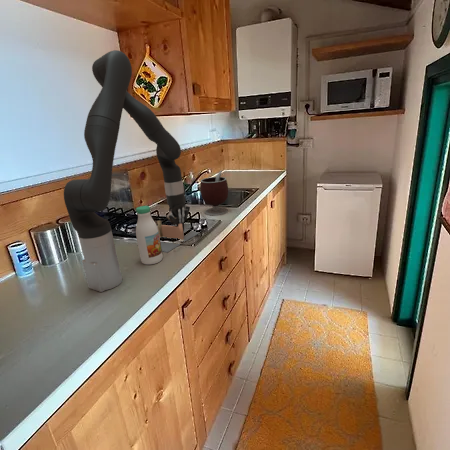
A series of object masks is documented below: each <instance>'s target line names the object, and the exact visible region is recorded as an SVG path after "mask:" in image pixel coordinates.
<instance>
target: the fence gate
mask: <svg viewBox="0 0 450 450" xmlns="http://www.w3.org/2000/svg"><path fill="white" fill-rule="evenodd" d="M161 228H162V234H163V237H169V238H178V239H184V234H183V227H182V223H180V224H178V226H177V225H176V226H175V225H170V224H169V225H168V224H167V225H166V224H162V225H161Z"/></svg>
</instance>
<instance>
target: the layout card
mask: <svg viewBox="0 0 450 450" xmlns="http://www.w3.org/2000/svg"><path fill="white" fill-rule="evenodd" d="M188 230H190V229H189V228H188V229H187V228H184V231H183V234H184V233H185V232H186V231H188ZM192 230H193V229H192ZM196 231H197V230H195V231H194V230H193V231H190V232H189V233H188V234H187V235H185V236H184V239H181V240H180V241H182V242H183V241H184V243H186V242H188V241H189V240H191V239H192V238H194V237H196V236H198V235H199V234H201V233H202V231H201V230H200V232H201V233H200V232H196ZM167 238H169V237H167ZM185 241H186V242H185ZM160 243H161V249H162V253H165V254H166V253H167V254H168V253H169V252H171V251H172V250H174V249H176V248H178V247H179V246H181V245H180V244H173V243H164V242H160Z"/></svg>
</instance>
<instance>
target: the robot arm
mask: <svg viewBox="0 0 450 450" xmlns="http://www.w3.org/2000/svg"><path fill="white" fill-rule="evenodd" d="M91 70H92V74H93V77H94V79H95V80H96V82H97V83H98V84H99V85H100V86H101V89H100V92H99V93H98V95H97V96H96V98H95V100H94V102H93V104H92V105H91V107H90V109H89V111H88V114H87V117H86V120H85V121H86V122H85V127H84V132H83V137H84V142H85V145H86V147H87V149H88V151H89V153H90V156H91V158H92V166H91V167H92V168H91V175H90V177H89V178H85V179H84V178H83V179H82V178H81V179H79V178H78V179H71V180H70V181H68V182H67V183H66V184H65V186H64V188H63V200H64V205H65V207H66V211H67V214H68V217H69V220H70V223H71V225H72V228H73V229H74V230H75V231H76V233H77V236H78V240H79V244H80V248H81V251H82V255H83V259H82V260H81V264H82V267H83V271H84V274H85V279H86V282H87V286H88V288H89V289H90V290H94V291H97V292H99V293H103V292H104V291H107V290H111V289H114V288H116V287H118V286H119V285H120V284H121V283H122V282H123V276H122V271H121V267H120V261H119V258H118V255H117V249H116V245H115V241H114V236H113V232H112V227H111V223H110V221H109V220H108V219H107V218H104V217H102V216H100V215H98V214H97V212H98V213H100V212H102V211H105V209H107V207H108V206H109V202H110V199H111V193H112V179H113V178H112V177H113V168H114V167H113V166H114V161H115V160H114V159H115V152H116V147H117V142H118V137H119V132H120V125H121V119H122V114H123V109H124V111H126V113H127V114H128V115H129V116H130V117H131V118H132V120H134V122H135V123H136V124H137V125H138V127H139V129H140V130H141V131H142V132H143V134H144V135H145V136H146V137H147V139H148V140H149V141H150V142H152V143H153V142H154V143H155V144H156V149H155V151H156V152H155V153H156V157H157V160H158V163H159V166H160V168H161V171H162V177H163V181H164V191H165V196H166V202H167V203H166V204H167V205H168V206H169V208H168V211H169V212H168V214H166V215H165V219H167V220H168V221H169V222H170V223H171V224H172V225H176V226H178V224H180V223H182V227H183V231H184V229H185V225H184V224H185V221H187V219H188V216H189V214H190V213H189V212H190V210H191V207H190V206H187V205H186V200H187V199H186V194H185V193H186V192H185V186H184V182H183V176H182V171H181V168H180V166H179V165H178V164H177V163H176V160H177V159H179V158H180V156H181V154H182V150H181V146H180V144H179V142H178V141H177V140H176V138H175V137H174V136H173V135H172V134H171V133H170V132H169V131H168V130H167V129H166V128H165V127H164V126H163V124H162V122H161V121H160V119H158V117H157V115H156V114H155V113H154V112H153V111H152V110H151V109H150V107H148V106H147V105H145V104H144V103H142V102H141V101H139V100H138V99H136V98H135V97H134V96H133V95H132V94H130V93H129V92H128V90H129V86H130V82H131V79H132V76H133V75H132V74H133V70H132V64H131V61H130V59H129V57H128V55H126V53H124V52H123V51H121V50H115V49H114V50H111V51H108V52H106V53H105V54H103V55H102V56H101V57H99V58H97V59H96V60H95V61H93V63H92V66H91Z"/></svg>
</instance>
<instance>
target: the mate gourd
mask: <svg viewBox="0 0 450 450" xmlns="http://www.w3.org/2000/svg"><path fill="white" fill-rule="evenodd" d="M222 172H223V170H220V171H219V172H218V173H217V174H216V176H213V177H211V176H210V177H205V178H203V179H200V194H201V198H202V201H203V202H204V203H205V204H206V205H209V206H213V207H211V208H207V209H206V210H204V215H206V216H209V217H218V216H223V215H226V214H227V213H228V212H229V208H226V207H222V206H221V207H220V205H222V204H224V203H226V202H227V199H228V197H229V196H228V195H229V185H228V181H227V177H224V176H221V175H222Z"/></svg>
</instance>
